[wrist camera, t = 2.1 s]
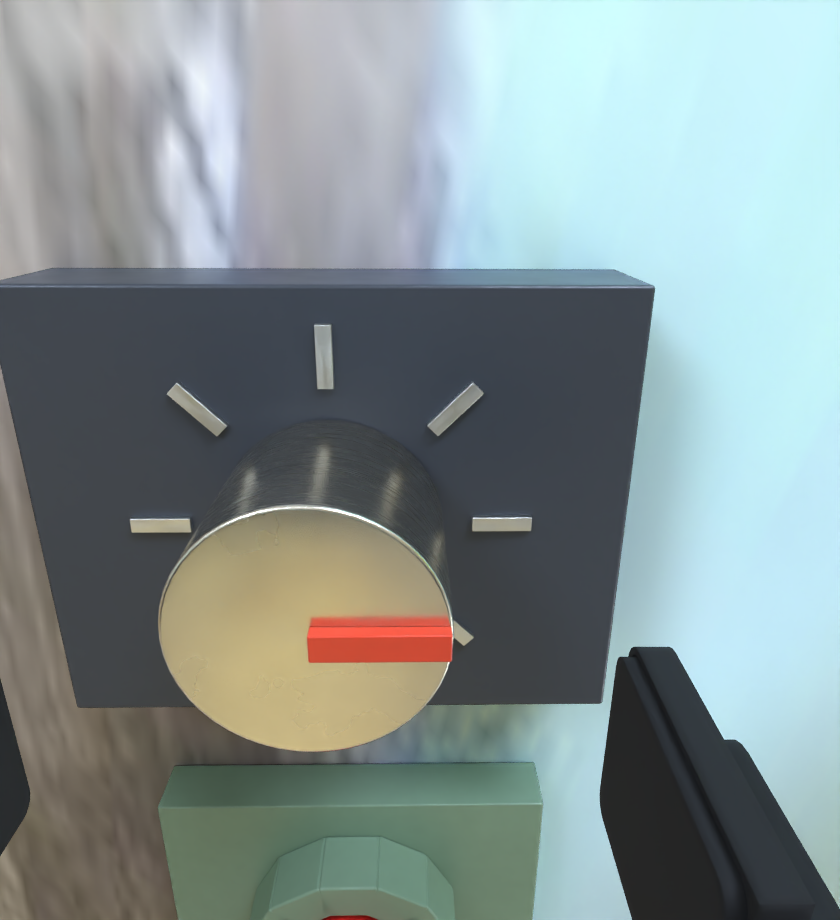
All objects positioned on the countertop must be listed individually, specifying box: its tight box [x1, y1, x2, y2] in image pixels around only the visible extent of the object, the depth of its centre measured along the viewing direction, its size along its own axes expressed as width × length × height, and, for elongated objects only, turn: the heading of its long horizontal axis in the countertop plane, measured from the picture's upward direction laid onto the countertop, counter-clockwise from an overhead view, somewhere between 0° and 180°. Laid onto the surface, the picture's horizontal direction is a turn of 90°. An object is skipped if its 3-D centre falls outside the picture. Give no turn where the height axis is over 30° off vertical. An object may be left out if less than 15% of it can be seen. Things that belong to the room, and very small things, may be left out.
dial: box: [158, 420, 454, 752], centre depth 14 cm, size 5×5×5 cm
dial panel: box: [0, 268, 655, 708], centre depth 18 cm, size 14×11×3 cm
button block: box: [158, 762, 543, 920], centre depth 23 cm, size 12×9×4 cm
